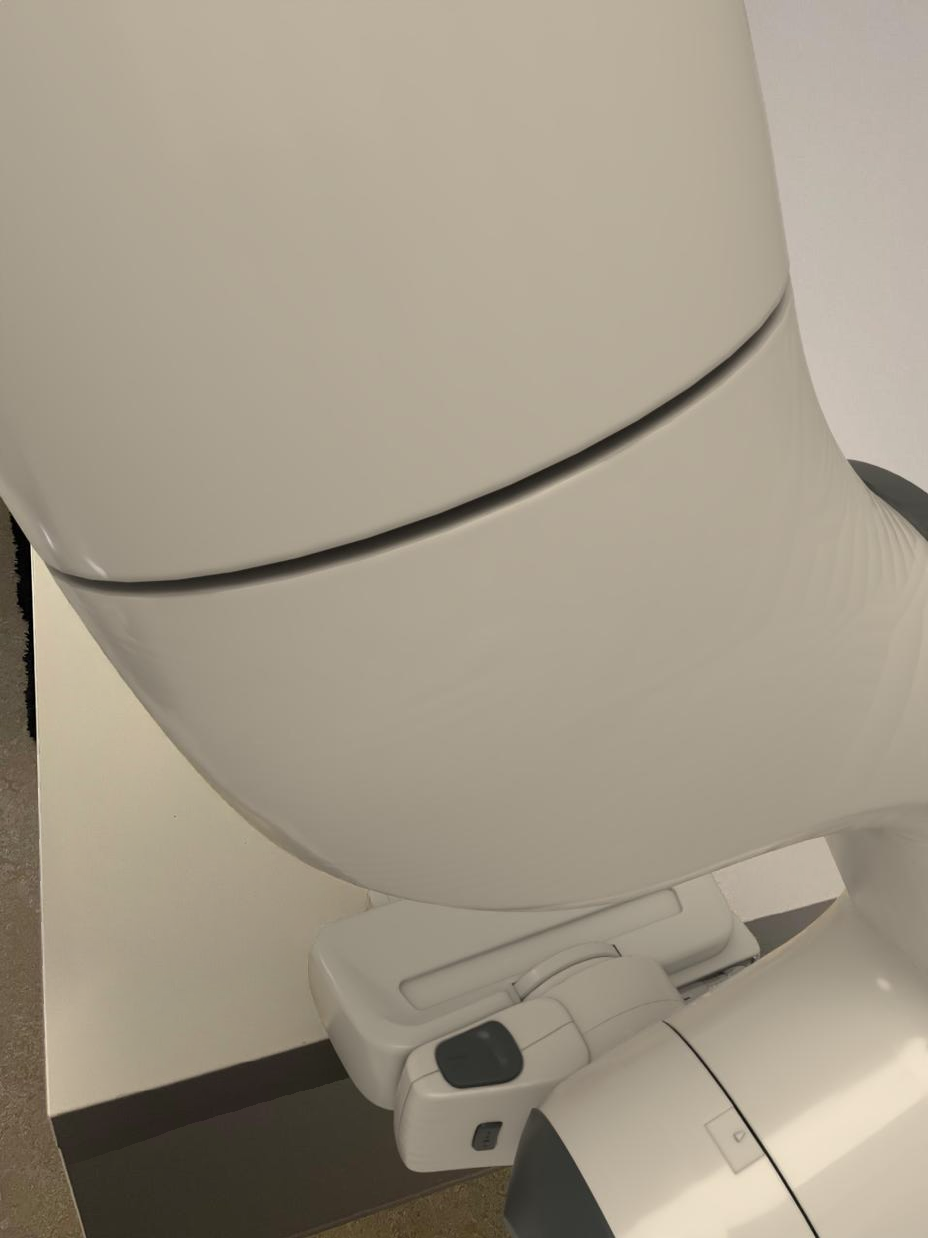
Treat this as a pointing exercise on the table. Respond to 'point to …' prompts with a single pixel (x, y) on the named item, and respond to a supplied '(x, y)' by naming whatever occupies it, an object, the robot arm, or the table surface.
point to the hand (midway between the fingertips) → (458, 817)
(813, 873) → the table surface
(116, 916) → the table surface
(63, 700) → the table surface
